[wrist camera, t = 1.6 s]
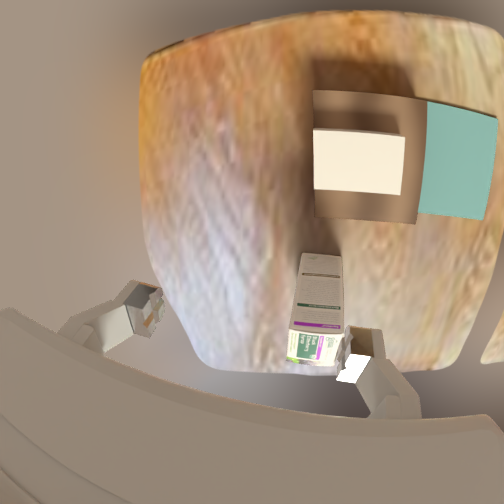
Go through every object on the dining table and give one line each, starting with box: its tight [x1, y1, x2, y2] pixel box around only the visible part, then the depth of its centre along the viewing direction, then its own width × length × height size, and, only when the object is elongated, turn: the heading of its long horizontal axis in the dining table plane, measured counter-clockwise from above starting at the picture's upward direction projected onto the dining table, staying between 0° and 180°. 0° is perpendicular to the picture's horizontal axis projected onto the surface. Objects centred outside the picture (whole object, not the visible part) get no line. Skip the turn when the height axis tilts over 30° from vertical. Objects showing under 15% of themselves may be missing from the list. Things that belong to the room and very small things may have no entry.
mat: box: [418, 102, 498, 220], centre depth 27 cm, size 12×14×1 cm
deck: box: [312, 90, 428, 224], centre depth 28 cm, size 12×14×4 cm
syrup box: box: [286, 253, 344, 366], centre depth 34 cm, size 6×6×14 cm
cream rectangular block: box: [313, 128, 405, 195], centre depth 26 cm, size 9×6×2 cm, turn 95°
